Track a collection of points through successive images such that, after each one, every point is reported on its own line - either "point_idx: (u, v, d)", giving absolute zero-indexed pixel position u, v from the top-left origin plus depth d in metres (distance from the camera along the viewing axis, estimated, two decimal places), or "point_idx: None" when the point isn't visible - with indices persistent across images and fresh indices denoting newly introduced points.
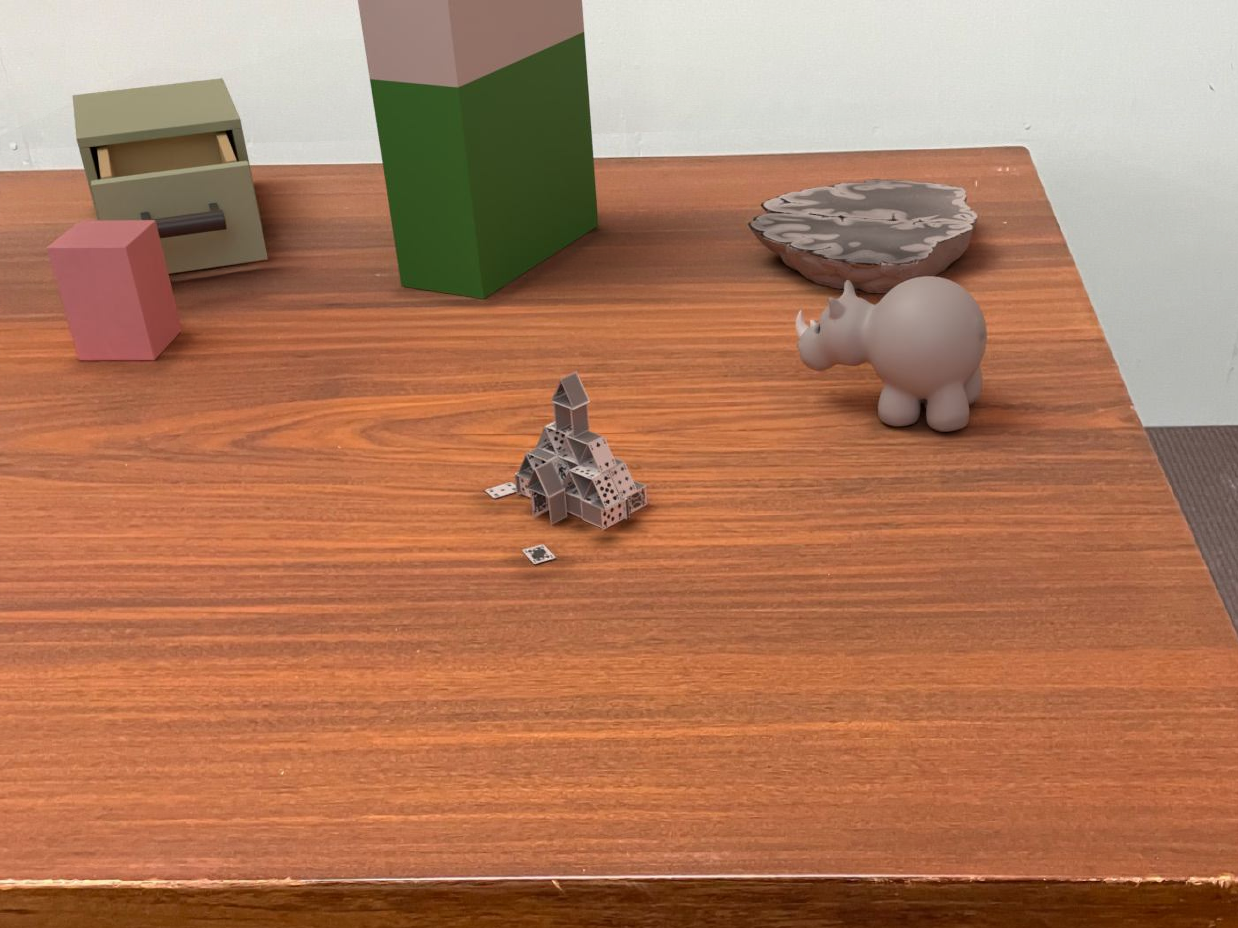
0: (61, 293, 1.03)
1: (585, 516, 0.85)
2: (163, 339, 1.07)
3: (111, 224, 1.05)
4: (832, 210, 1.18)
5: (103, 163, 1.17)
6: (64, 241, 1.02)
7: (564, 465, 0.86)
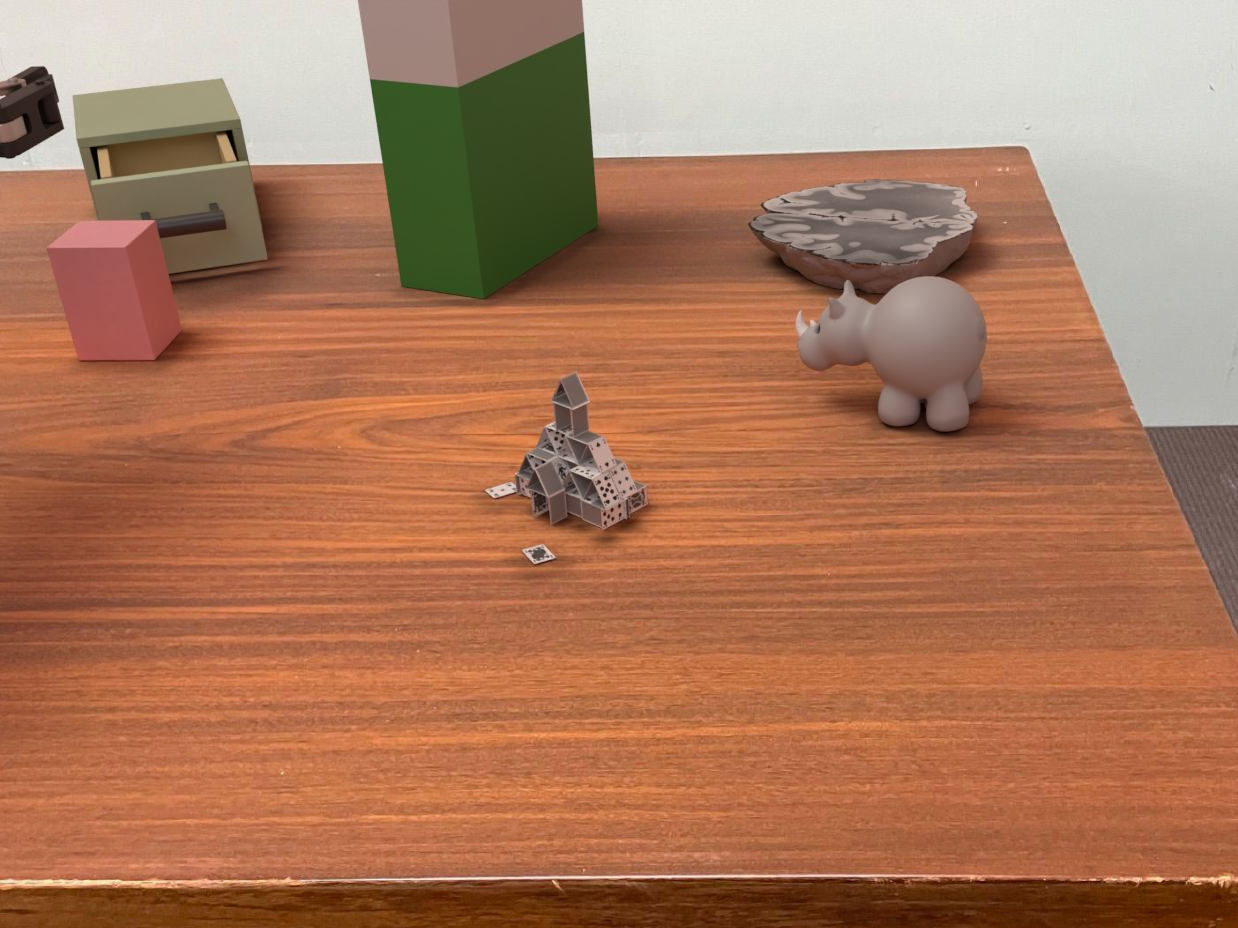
0: (61, 293, 1.03)
1: (585, 516, 0.85)
2: (163, 339, 1.07)
3: (111, 224, 1.05)
4: (832, 210, 1.18)
5: (103, 163, 1.17)
6: (64, 241, 1.02)
7: (564, 465, 0.86)
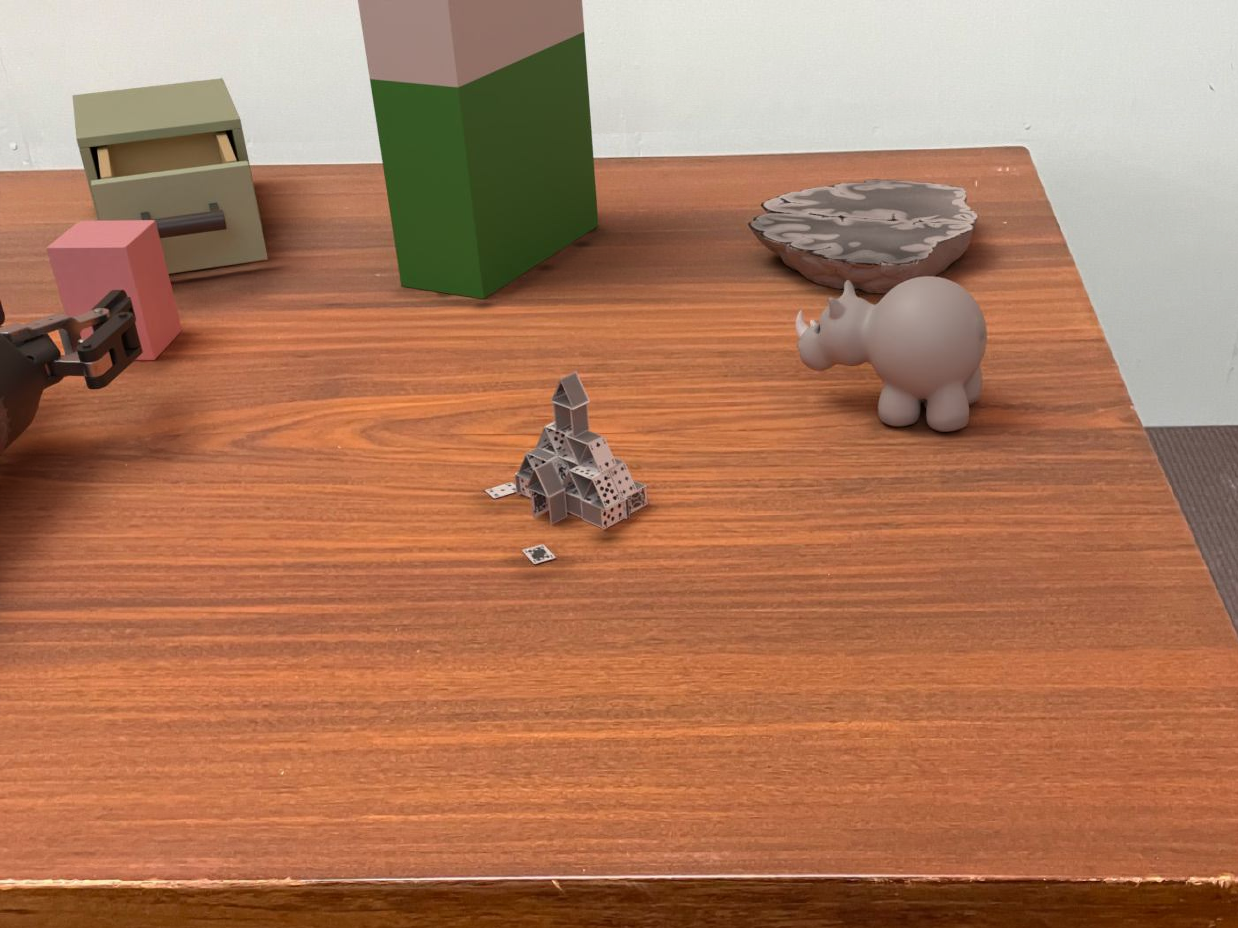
0: (61, 293, 1.03)
1: (585, 515, 0.85)
2: (163, 339, 1.07)
3: (111, 224, 1.05)
4: (832, 210, 1.18)
5: (103, 163, 1.17)
6: (64, 241, 1.02)
7: (564, 465, 0.86)
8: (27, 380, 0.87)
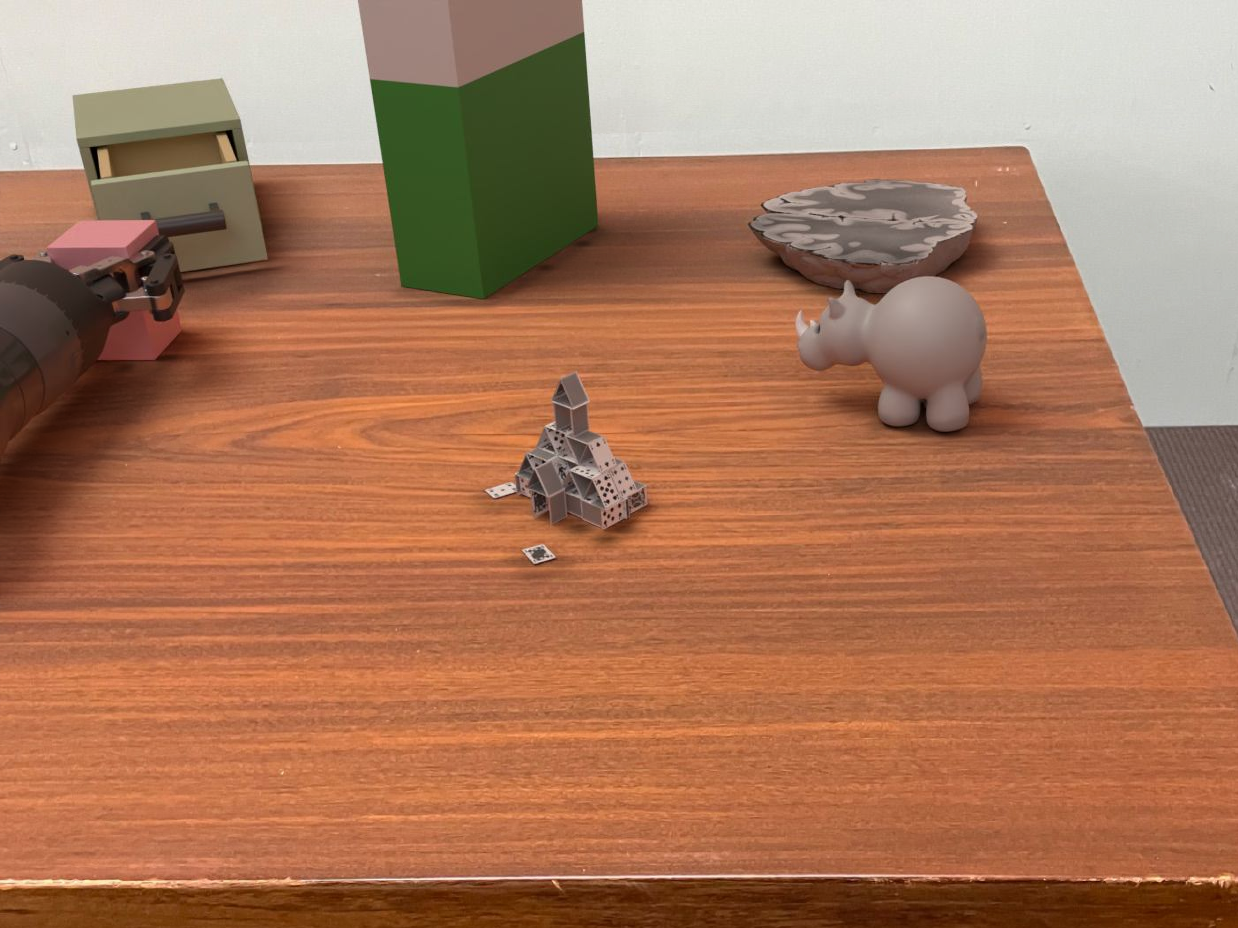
0: None
1: (585, 515, 0.85)
2: (163, 339, 1.07)
3: (111, 224, 1.05)
4: (832, 210, 1.18)
5: (103, 163, 1.17)
6: (64, 241, 1.02)
7: (564, 465, 0.86)
8: (97, 316, 0.95)
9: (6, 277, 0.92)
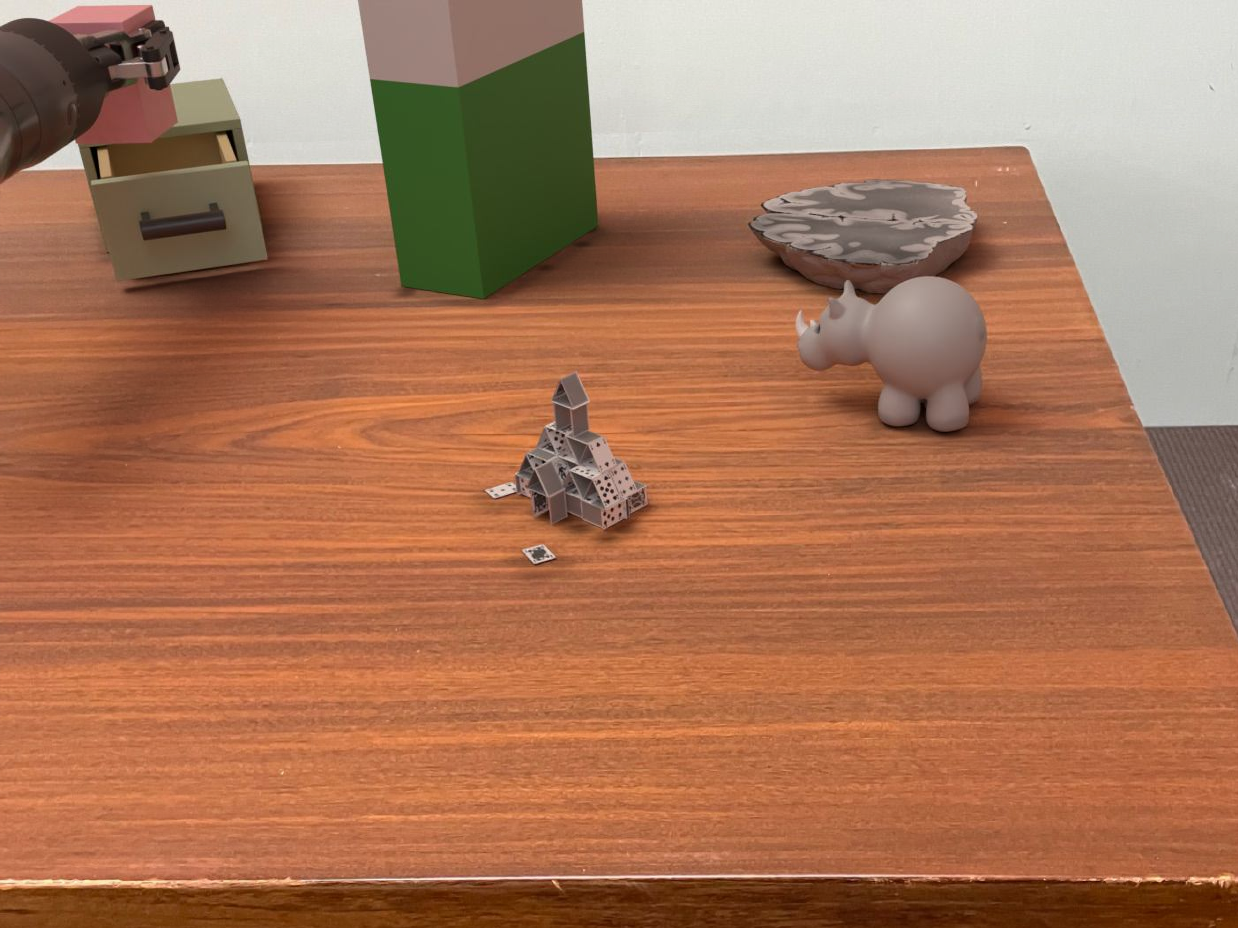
0: None
1: (585, 515, 0.85)
2: (159, 125, 1.09)
3: (109, 7, 1.07)
4: (832, 210, 1.18)
5: (103, 163, 1.17)
6: (62, 18, 1.04)
7: (564, 465, 0.86)
8: (94, 75, 0.97)
9: (4, 28, 0.93)
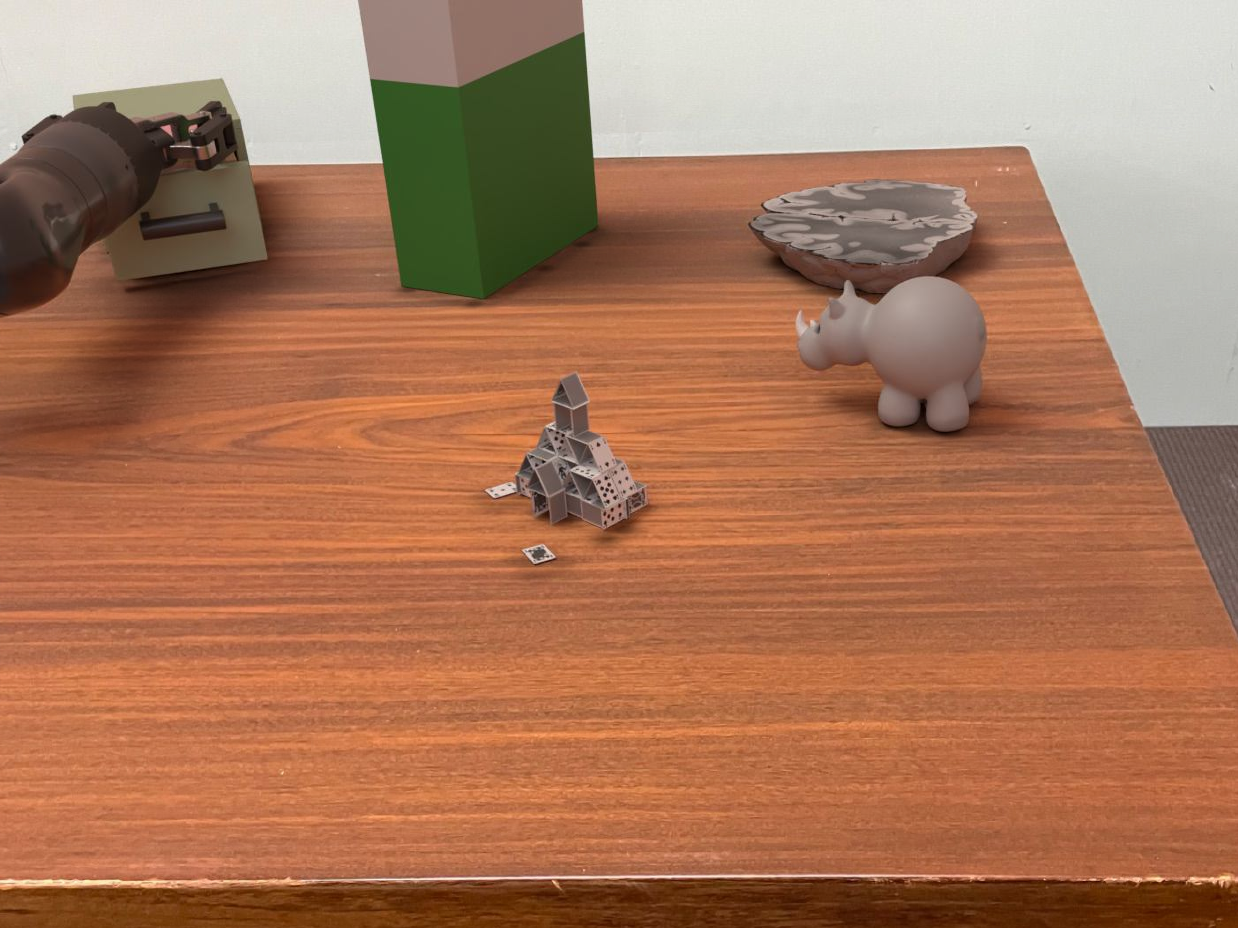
0: None
1: (585, 515, 0.85)
2: None
3: None
4: (832, 210, 1.18)
5: None
6: None
7: (564, 465, 0.86)
8: (151, 157, 1.07)
9: (72, 118, 1.04)
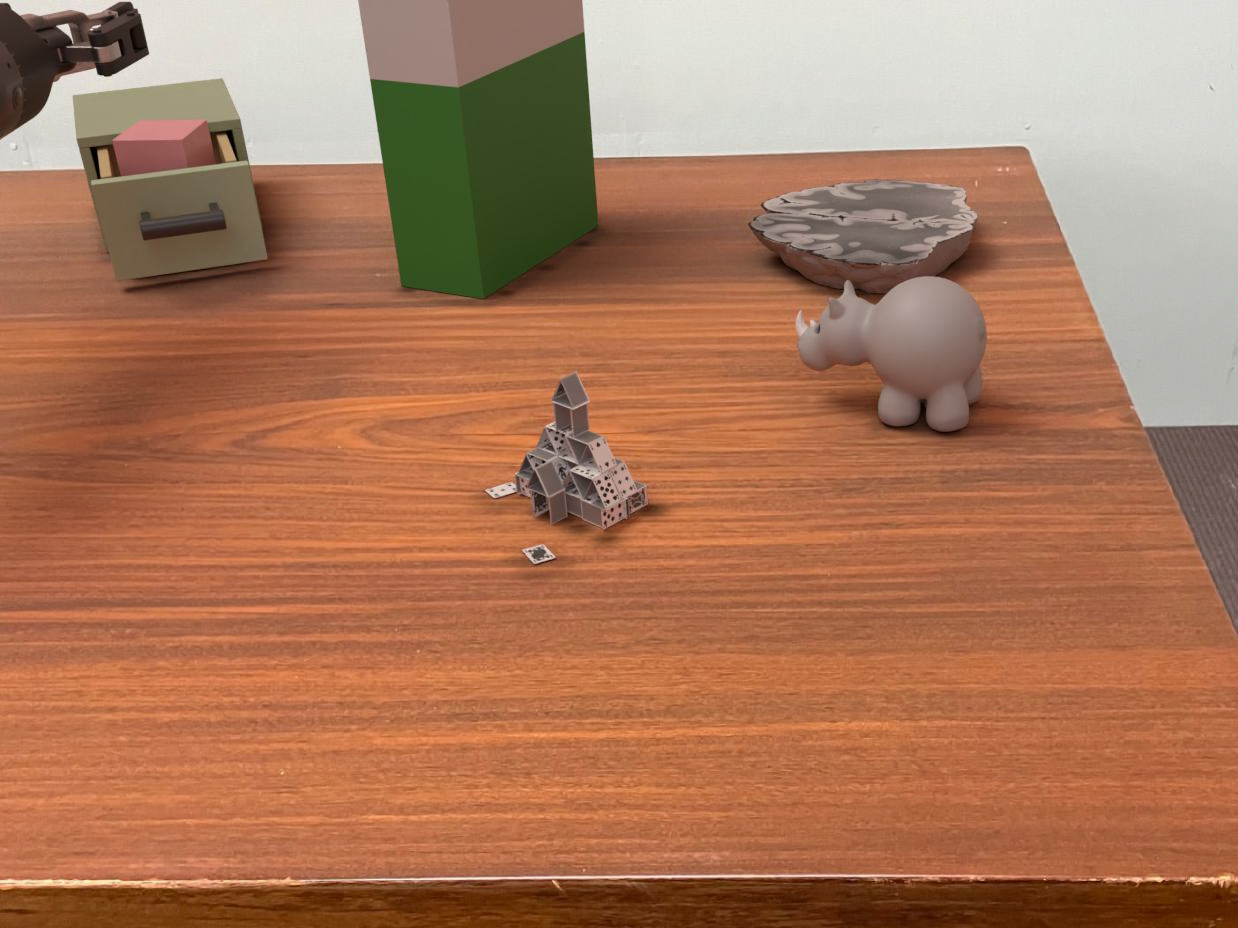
0: None
1: (585, 515, 0.85)
2: None
3: (168, 122, 1.18)
4: (832, 210, 1.18)
5: (103, 163, 1.17)
6: (127, 135, 1.16)
7: (564, 465, 0.86)
8: (41, 58, 0.92)
9: None
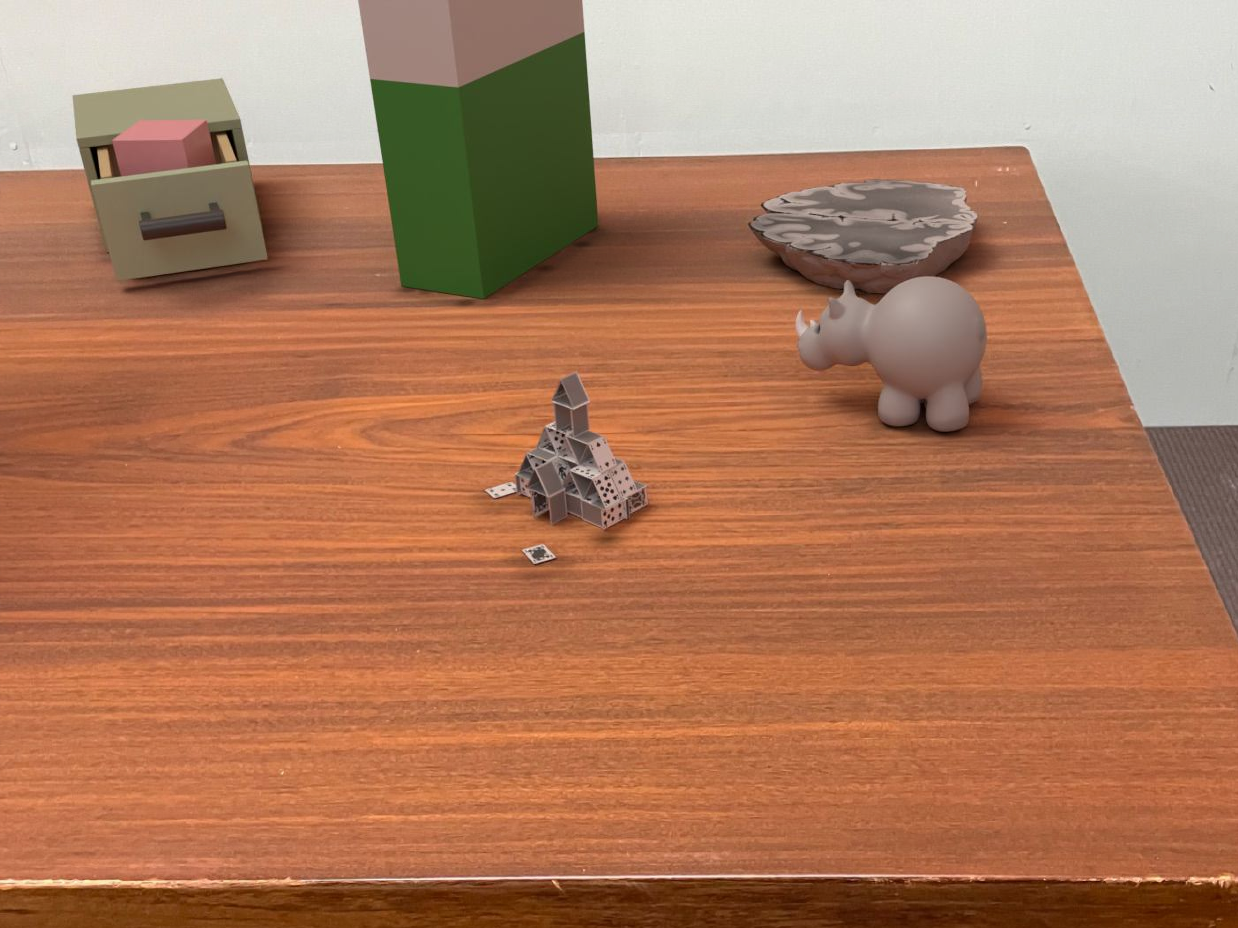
0: None
1: (585, 515, 0.85)
2: None
3: (168, 122, 1.18)
4: (832, 210, 1.18)
5: (103, 163, 1.17)
6: (127, 135, 1.16)
7: (564, 465, 0.86)
8: None
9: None
